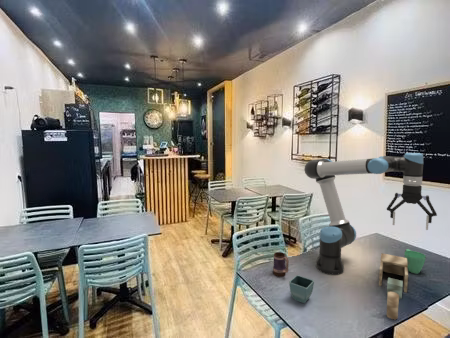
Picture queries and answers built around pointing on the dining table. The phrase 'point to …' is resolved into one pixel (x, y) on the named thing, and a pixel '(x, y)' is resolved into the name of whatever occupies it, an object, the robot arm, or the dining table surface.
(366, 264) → the dining table surface
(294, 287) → the flower pot
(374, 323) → the dining table surface
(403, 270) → the tan wooden arch
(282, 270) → the mug
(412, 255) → the mug
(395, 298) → the tethered block
